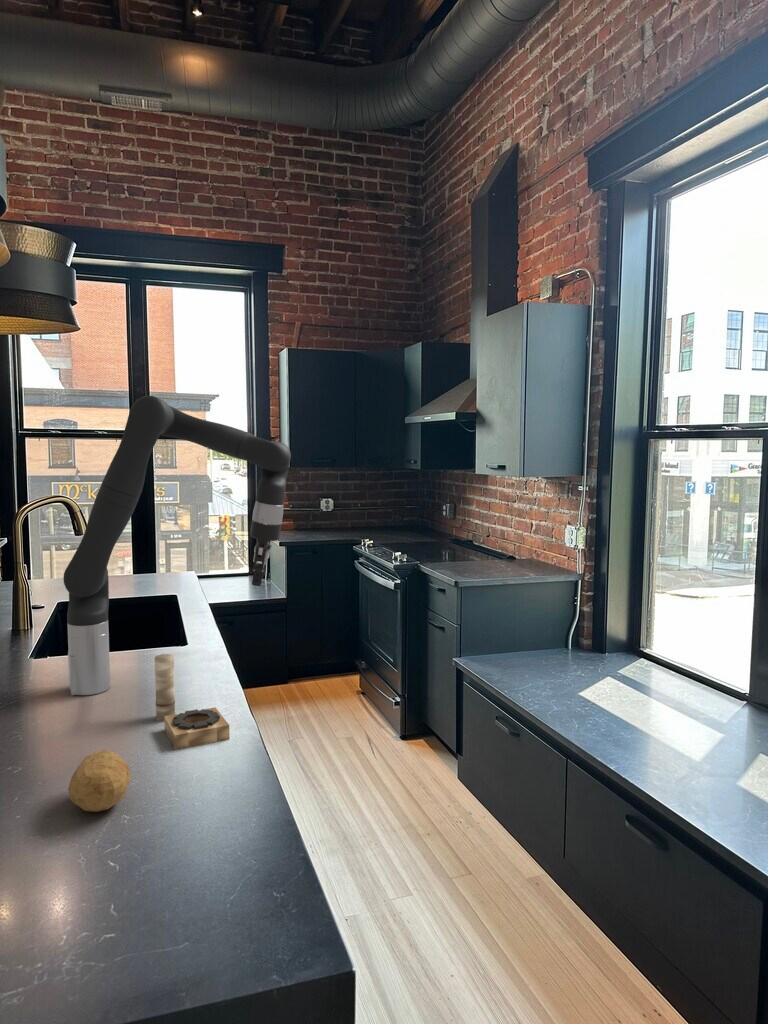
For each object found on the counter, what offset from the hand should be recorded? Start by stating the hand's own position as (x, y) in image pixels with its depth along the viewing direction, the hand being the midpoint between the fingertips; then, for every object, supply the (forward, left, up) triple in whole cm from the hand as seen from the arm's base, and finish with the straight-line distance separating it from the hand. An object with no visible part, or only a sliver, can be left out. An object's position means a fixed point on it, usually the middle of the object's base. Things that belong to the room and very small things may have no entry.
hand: (258, 580), depth 180 cm
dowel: (-27, -17, -26) cm, 41 cm away
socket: (-23, -29, -26) cm, 45 cm away
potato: (-44, -50, -26) cm, 71 cm away
